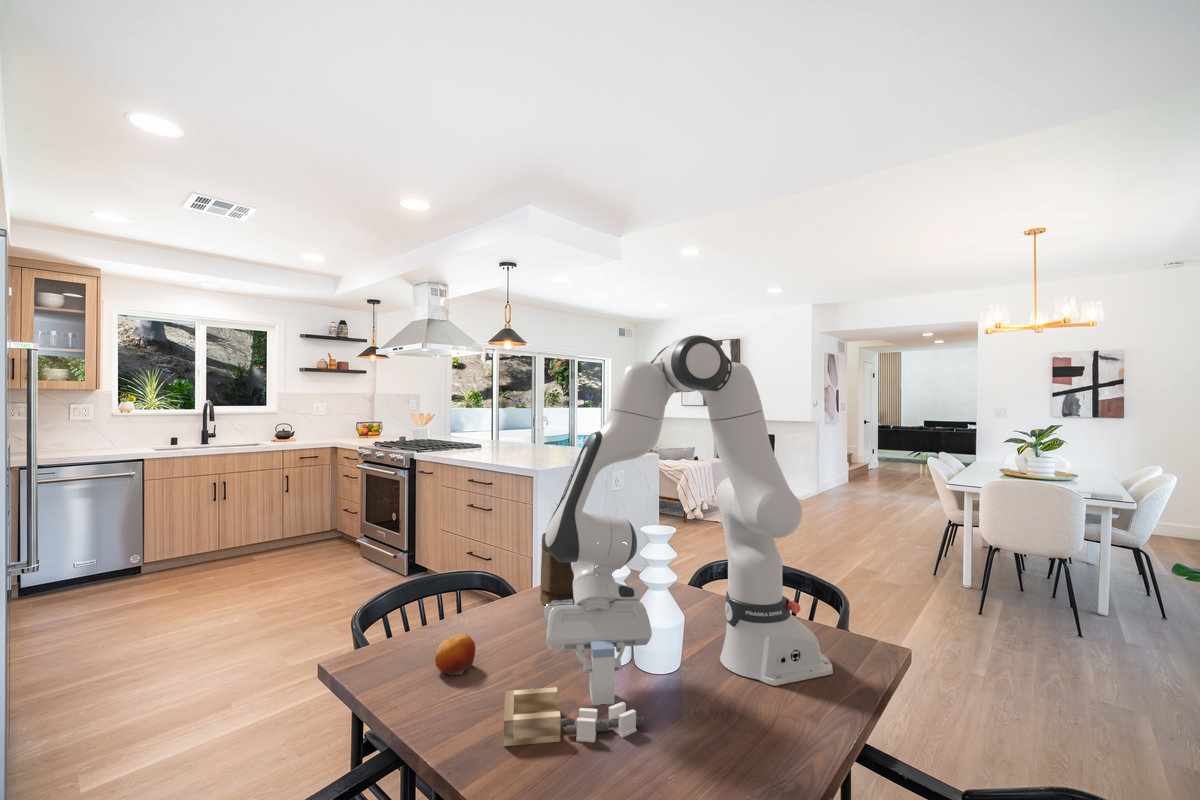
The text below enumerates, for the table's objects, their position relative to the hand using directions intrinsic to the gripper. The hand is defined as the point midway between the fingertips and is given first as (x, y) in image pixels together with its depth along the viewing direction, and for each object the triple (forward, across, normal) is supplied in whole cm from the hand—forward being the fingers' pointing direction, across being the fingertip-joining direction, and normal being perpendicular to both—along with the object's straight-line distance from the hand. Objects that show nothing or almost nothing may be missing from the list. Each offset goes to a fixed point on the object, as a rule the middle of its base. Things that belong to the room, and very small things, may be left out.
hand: (602, 670), depth 98 cm
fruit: (-7, -28, +15) cm, 33 cm away
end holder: (+8, -13, -1) cm, 15 cm away
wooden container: (-33, -2, +40) cm, 52 cm away
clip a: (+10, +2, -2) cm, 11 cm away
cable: (+10, -2, -3) cm, 10 cm away
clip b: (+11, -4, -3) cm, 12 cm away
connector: (+3, 0, +4) cm, 5 cm away
